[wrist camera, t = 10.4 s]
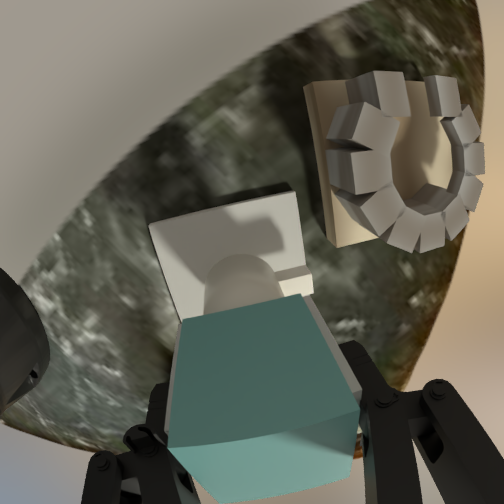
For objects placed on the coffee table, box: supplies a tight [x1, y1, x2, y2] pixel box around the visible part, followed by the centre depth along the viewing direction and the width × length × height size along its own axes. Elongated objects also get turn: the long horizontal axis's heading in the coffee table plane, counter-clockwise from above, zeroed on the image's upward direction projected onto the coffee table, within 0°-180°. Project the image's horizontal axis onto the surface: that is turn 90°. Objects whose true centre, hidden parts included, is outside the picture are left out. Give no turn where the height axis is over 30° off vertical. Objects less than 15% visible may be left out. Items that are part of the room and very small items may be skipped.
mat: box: [149, 191, 309, 322], centre depth 21 cm, size 10×10×1 cm
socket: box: [303, 71, 485, 253], centre depth 17 cm, size 11×11×6 cm
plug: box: [167, 254, 360, 504], centre depth 13 cm, size 7×5×13 cm
